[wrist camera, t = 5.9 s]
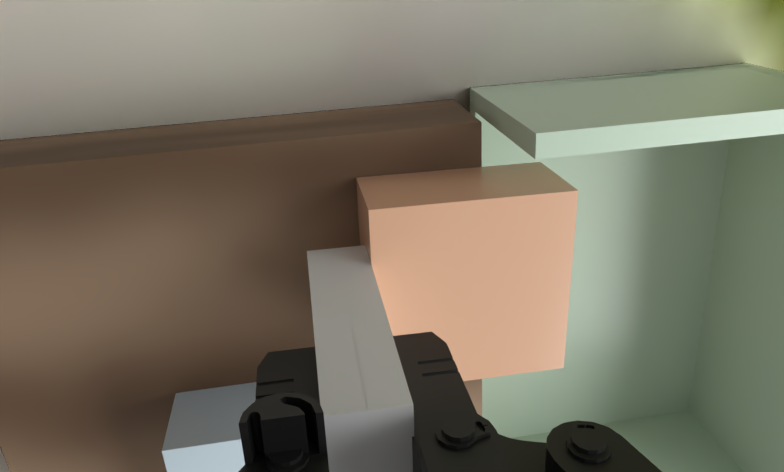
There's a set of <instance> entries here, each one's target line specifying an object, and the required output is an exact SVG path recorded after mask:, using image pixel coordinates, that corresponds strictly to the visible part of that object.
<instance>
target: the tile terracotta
mask: <svg viewBox="0 0 784 472" xmlns="http://www.w3.org/2000/svg"><path fill="white" fill-rule="evenodd" d="M356 184H357V201H358V218H359V235H360V246H362V245H365V247H366V250H367V253H368V257H369V260H370V263H371V265H372V268H373V272H374V275H375V278H376V282H377V285H378V288H379V292H380V295H381V298H382V302H383V305H384V308H385V312H386V315H387V318H388V322H389V325H390V328H391V332H392V335H393V336H397V335H406V334H414V333H423V332H433V333H434V334H436V335H437V336H438V337H439V338H441V339H442V340H443V341H445V342H446V343H447V345H448V348H449V350H450V352H451V354H452V357H453V360H454V361H455V364H456V366H457V368H458V372H459V373H460V375H461V377H462V380H463V381H469V380H477V379H484V378H492V377H499V376H507V375H514V374H522V373H530V372H537V371H545V370H552V369H560V368H564V358H565V346H566V334H567V322H568V310H569V298H570V286H571V274H572V262H573V249H574V237H575V225H576V213H577V201H578V190H577V189H576V188H574V187H573V186H572V185H570V184H569V183H568V182H566V181H565V180H564V179H562V178H561V177H560V176H558V175H557V174H556V173H555V172H553V171H552V170H551V169H549V168H548V167H547V166H545V165H544V164H543V163H541V162H533V163H521V164H509V165H498V166H486V167H474V168H463V169H451V170H439V171H428V172H416V173H404V174H393V175H381V176H369V177H358V178H356Z"/></svg>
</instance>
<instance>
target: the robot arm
mask: <svg viewBox="0 0 784 472" xmlns="http://www.w3.org/2000/svg"><path fill="white" fill-rule="evenodd" d="M307 259H308V270H309V282H310V293H311V305H312V316H313V328H314V339H315V347H308V348H300V349H291V350H283V351H274V352H268V353H267V354H266V356H265V357H264V359H263V360H262V361H261V363H260V364H259V366H258V367H257V379H256V395H255V397H256V400H255V402H254V403H252V404H251V405H250V406H249V407H248V408H247V409H246V410H245V411H244V412H243V413H242V416H241V418H240V421H239V430H240V436H241V442H242V448H243V455H244V461H245V465H244V466H243V467H242V468H241V469H240V470H239V471H238V472H662V471H661V470H660V469H658V468H657V467H656V466H655V465H654V464H653V463H652V462H651V461H649V460H648V459H647V458H646V457H645V456H644V455H643V454H642V453H640V452H639V451H638V450H637V449H636V448H635V447H634V446H633V445H631V444H630V443H629V442H628V441H627V440H626V439H625V438H624V437H622V436H621V435H620V434H618V433H617V432H615V431H614V430H612V429H611V428H609V427H607V426H604V425H601V424H598V423H595V422H589V421H578V420H577V421H571V422H565V423H562V424H560V425H558V426H557V427H555V428H553V429H552V430H551V432H550V433H549V435H548V436H547V441H546V443H543V442H533V441H523V440H517V439H512V438H508V437H505V436H503V435H500V434H498V433H497V430H496V429H495V428H494V426H493V425H492V424H491V423H490V421H489V420H487V419H485V418H484V417H482V416H480V415H479V414H477V412H476V409H475V407H474V405H473V403H472V400H471V398H470V396H469V393H468V391H467V389H466V386H465V384H464V382H463V380H462V377H461V375H460V373H459V372H458V368H457V366H456V364H455V361H454V360H453V357H452V354H451V352H450V350H449V348H448V345H447V343H446V342H445V341H443V340H442V339H441V338H439V337H438V336H437V335H436V334H434V333H433V332H423V333H414V334H406V335H397V336H393V335H392V332H391V328H390V325H389V322H388V318H387V315H386V312H385V308H384V305H383V302H382V298H381V295H380V292H379V288H378V285H377V282H376V278H375V275H374V272H373V268H372V265H371V263H370V260H369V257H368V253H367V250H366V247H365V245H362V246H352V247H342V248H331V249H321V250H311V251H307Z"/></svg>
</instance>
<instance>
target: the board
mask: <svg viewBox="0 0 784 472" xmlns="http://www.w3.org/2000/svg"><path fill="white" fill-rule="evenodd" d="M474 167H482V122H481V121H480V120H478V119H477V118H476V117H475V116H473V115H472V114H471V113H470V112H469V111H467V110H466V109H465V108H464V107H462V106H461V105H460V104H459V103H458V102H456V101H455V100H454V99H451V100H440V101H429V102H418V103H407V104H396V105H385V106H374V107H363V108H352V109H341V110H330V111H319V112H308V113H297V114H286V115H275V116H264V117H253V118H242V119H231V120H220V121H209V122H198V123H187V124H176V125H165V126H154V127H143V128H132V129H121V130H110V131H99V132H88V133H77V134H66V135H55V136H44V137H33V138H22V139H11V140H0V447H1V449H2V452H3V455H4V457H5V460H6V463H7V465H8V468H9V471H10V472H167V470H166V466H165V462H164V458H163V454H162V448H163V444H164V440H165V435H166V431H167V427H168V423H169V419H170V415H171V411H172V407H173V403H174V399H175V394H176V393H181V392H188V391H195V390H202V389H209V388H217V387H224V386H231V385H238V384H246V383H253V382H256V379H257V367H258V366H259V364H260V363H261V361H262V360H263V359H264V357H265V356H266V354H267V353H268V352H274V351H283V350H291V349H300V348H308V347H315V339H314V328H313V316H312V305H311V293H310V282H309V270H308V259H307V251H311V250H321V249H331V248H342V247H352V246H360V235H359V218H358V201H357V184H356V178H358V177H369V176H381V175H393V174H404V173H416V172H428V171H439V170H451V169H463V168H474ZM463 382H464V384H465V386H466V389H467V391H468V393H469V396H470V398H471V400H472V403H473V405H474V407H475V409H476V412H477V414H479V415H480V416H482V379H477V380H469V381H463Z"/></svg>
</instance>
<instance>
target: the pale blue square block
mask: <svg viewBox="0 0 784 472" xmlns="http://www.w3.org/2000/svg"><path fill="white" fill-rule="evenodd" d="M255 395H256V382H253V383H246V384H238V385H231V386H224V387H217V388H209V389H202V390H195V391H188V392H181V393H176V394H175V399H174V403H173V407H172V411H171V415H170V419H169V423H168V427H167V431H166V435H165V440H164V444H163V448H162V454H163V458H164V462H165V466H166V470H167V472H238V471H239V470H240V469H241V468H242V467H243V466H244V465H245V461H244V455H243V448H242V442H241V436H240V430H239V421H240V418H241V416H242V413H243V412H244V411H245V410H246V409H247V408H248V407H249V406H250V405H251V404H252V403H254V402H255V400H256V397H255Z"/></svg>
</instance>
